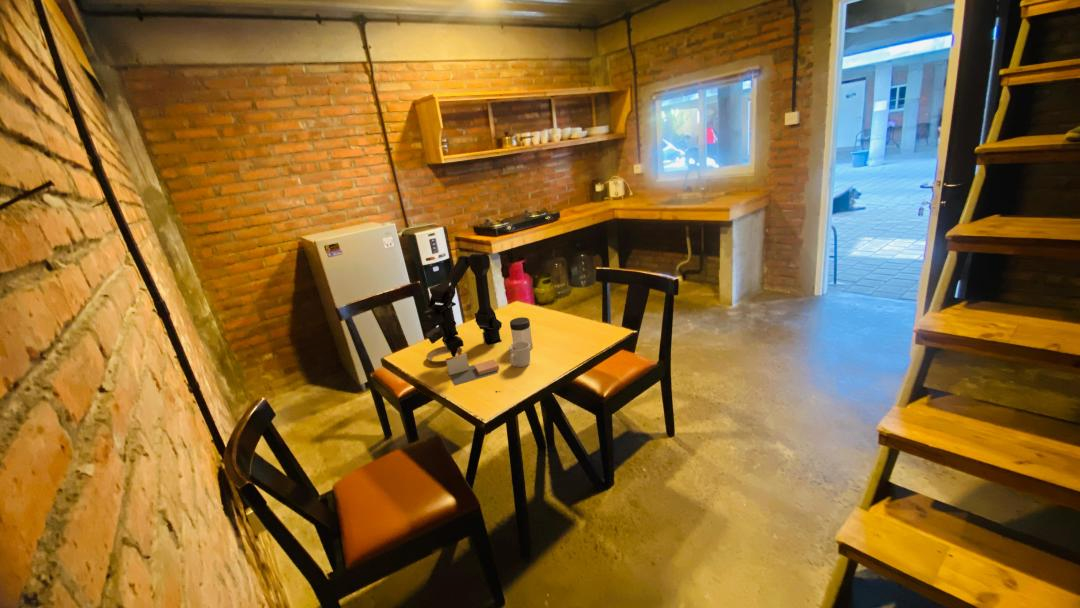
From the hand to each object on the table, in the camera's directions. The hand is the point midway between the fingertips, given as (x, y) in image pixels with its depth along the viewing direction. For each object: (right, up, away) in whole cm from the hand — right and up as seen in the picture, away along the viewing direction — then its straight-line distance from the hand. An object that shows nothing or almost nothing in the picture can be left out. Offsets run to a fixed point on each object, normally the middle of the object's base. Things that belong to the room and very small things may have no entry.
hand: (453, 356), depth 178 cm
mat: (+8, -6, -5) cm, 11 cm away
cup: (+26, -3, -4) cm, 27 cm away
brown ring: (-5, -2, +10) cm, 12 cm away
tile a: (+12, -3, -1) cm, 12 cm away
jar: (+27, +2, +12) cm, 29 cm away
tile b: (+3, -6, -4) cm, 7 cm away
